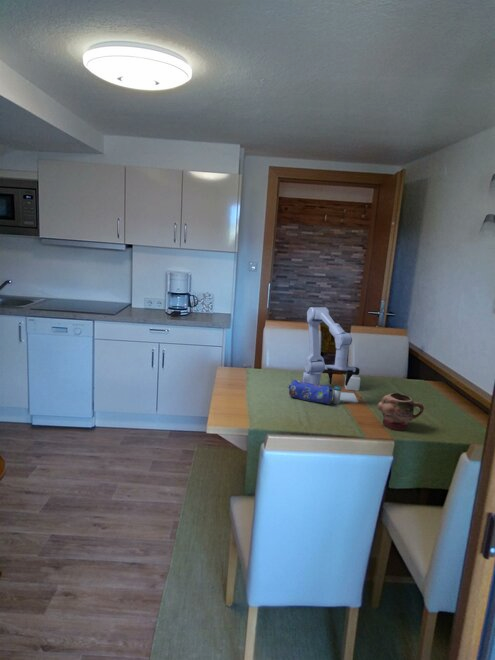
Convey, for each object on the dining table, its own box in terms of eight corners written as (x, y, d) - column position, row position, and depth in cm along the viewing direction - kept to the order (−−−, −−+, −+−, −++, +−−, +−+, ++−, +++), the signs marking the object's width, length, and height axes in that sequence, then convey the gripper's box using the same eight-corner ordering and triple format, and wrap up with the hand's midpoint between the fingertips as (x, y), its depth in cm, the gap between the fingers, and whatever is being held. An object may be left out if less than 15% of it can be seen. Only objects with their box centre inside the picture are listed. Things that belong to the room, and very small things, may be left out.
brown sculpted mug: (413, 421, 201) (418, 393, 198) (425, 433, 189) (430, 402, 186) (371, 419, 199) (375, 390, 196) (380, 431, 187) (385, 400, 185)
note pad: (340, 401, 220) (340, 399, 220) (336, 392, 233) (336, 391, 233) (358, 402, 220) (358, 401, 220) (353, 393, 233) (353, 392, 233)
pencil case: (286, 398, 219) (287, 380, 217) (290, 393, 227) (292, 375, 225) (329, 407, 211) (331, 388, 209) (333, 401, 219) (335, 383, 217)
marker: (332, 403, 216) (334, 387, 214) (332, 401, 219) (333, 385, 218) (340, 404, 216) (342, 388, 214) (339, 401, 219) (340, 385, 217)
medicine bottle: (357, 387, 245) (359, 366, 242) (359, 391, 238) (361, 370, 235) (344, 385, 245) (346, 365, 243) (345, 389, 238) (348, 368, 236)
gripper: (327, 358, 209) (324, 385, 212) (357, 361, 209) (354, 388, 211) (325, 354, 216) (322, 381, 219) (355, 357, 216) (352, 383, 218)
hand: (338, 384), depth 216 cm, fingers open, 7 cm apart
